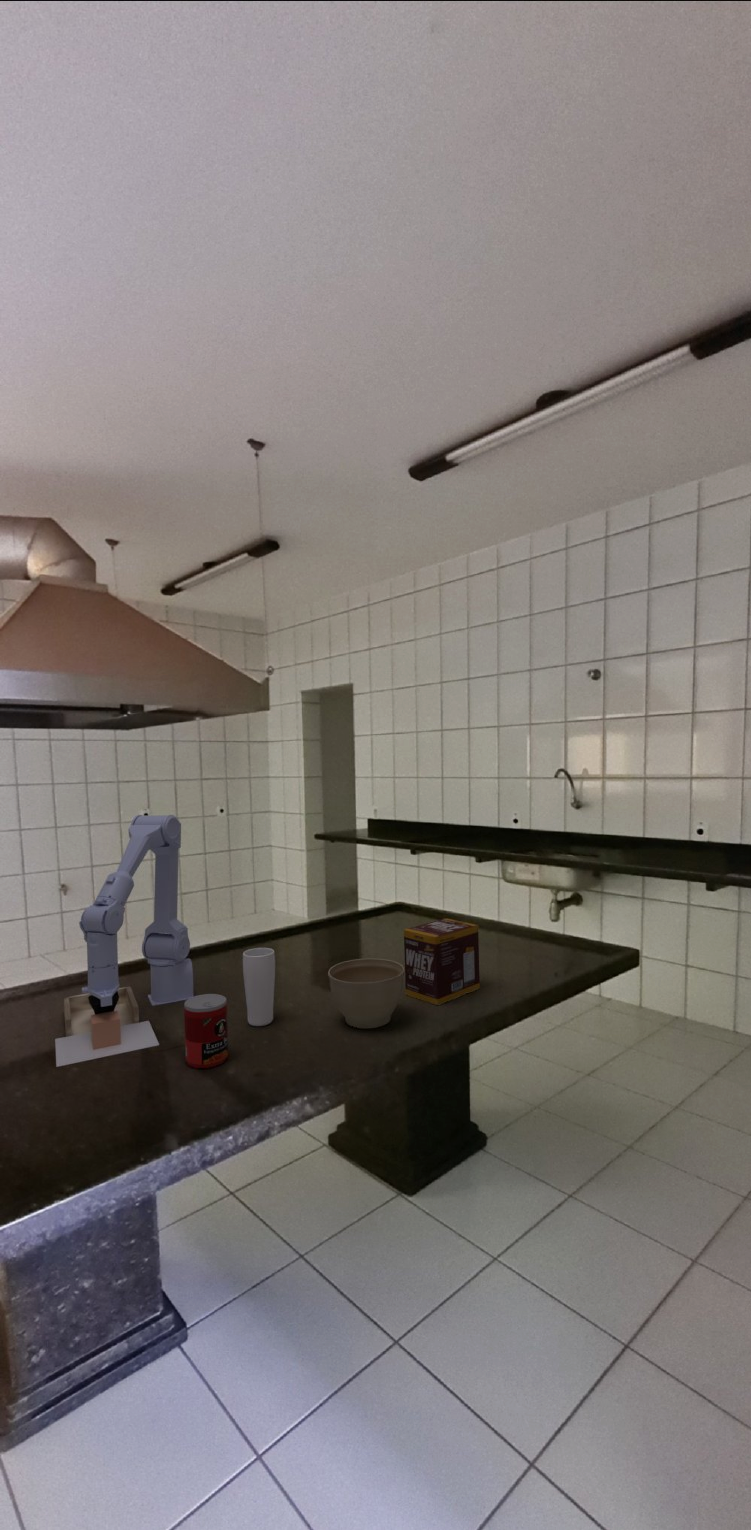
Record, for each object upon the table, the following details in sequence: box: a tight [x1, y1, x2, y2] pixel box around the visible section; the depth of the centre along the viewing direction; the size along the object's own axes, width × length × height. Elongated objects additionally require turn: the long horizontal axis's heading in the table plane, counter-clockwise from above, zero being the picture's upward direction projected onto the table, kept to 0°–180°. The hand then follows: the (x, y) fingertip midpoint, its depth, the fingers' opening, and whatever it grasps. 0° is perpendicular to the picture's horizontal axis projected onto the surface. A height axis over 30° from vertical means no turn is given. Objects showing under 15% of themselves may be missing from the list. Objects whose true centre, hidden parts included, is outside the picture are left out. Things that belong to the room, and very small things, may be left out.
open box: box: [63, 985, 140, 1037], centre depth 141 cm, size 14×15×4 cm
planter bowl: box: [327, 958, 405, 1029], centre depth 136 cm, size 16×16×11 cm
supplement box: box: [403, 918, 481, 1005], centre depth 152 cm, size 10×15×16 cm
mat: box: [54, 1020, 160, 1068], centre depth 128 cm, size 18×14×1 cm
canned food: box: [183, 993, 229, 1069], centre depth 120 cm, size 8×8×11 cm
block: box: [91, 1010, 121, 1050], centre depth 127 cm, size 5×5×5 cm
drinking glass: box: [242, 947, 276, 1027], centre depth 137 cm, size 7×7×15 cm
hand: (104, 1030), depth 131 cm, fingers closed
